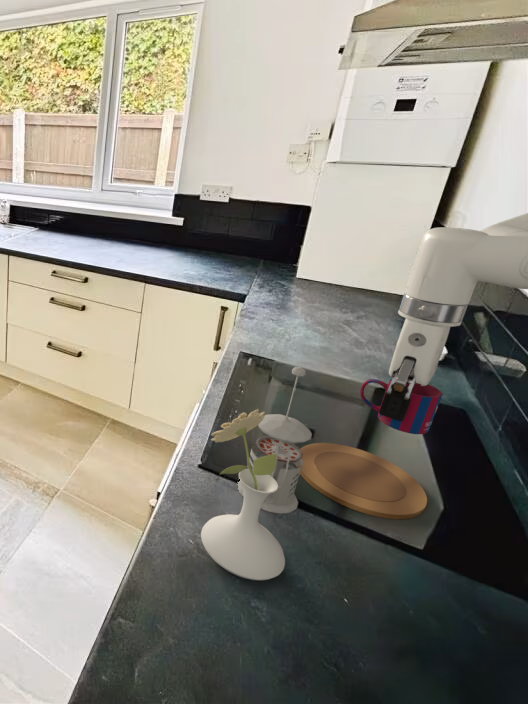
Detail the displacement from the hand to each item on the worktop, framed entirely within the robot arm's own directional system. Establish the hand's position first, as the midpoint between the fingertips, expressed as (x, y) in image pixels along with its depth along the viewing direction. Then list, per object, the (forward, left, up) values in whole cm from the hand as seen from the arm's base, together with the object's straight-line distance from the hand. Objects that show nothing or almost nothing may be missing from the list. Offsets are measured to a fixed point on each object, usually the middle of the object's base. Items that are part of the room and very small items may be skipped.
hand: (396, 408), depth 77 cm
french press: (+11, +16, -17) cm, 26 cm away
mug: (0, 0, -2) cm, 2 cm away
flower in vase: (+9, +33, -17) cm, 38 cm away
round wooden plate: (+2, -2, -17) cm, 17 cm away
